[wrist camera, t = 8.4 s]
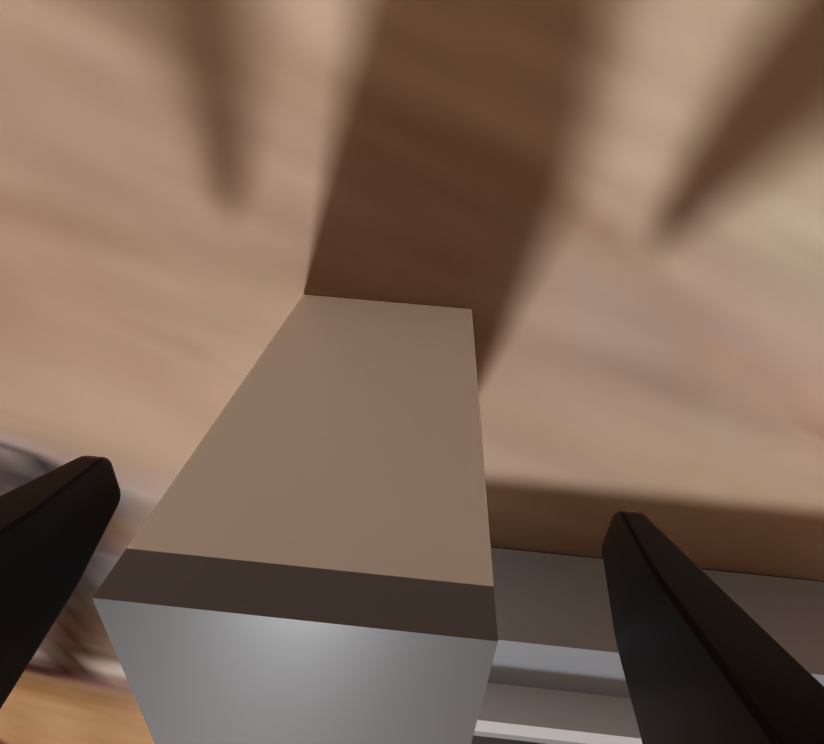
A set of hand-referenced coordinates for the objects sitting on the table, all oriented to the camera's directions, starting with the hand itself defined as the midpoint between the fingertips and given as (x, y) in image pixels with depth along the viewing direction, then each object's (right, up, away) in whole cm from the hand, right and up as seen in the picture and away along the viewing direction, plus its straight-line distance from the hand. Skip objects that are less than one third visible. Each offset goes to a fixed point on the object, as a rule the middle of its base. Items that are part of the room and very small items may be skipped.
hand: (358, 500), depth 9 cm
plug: (0, +2, +4) cm, 5 cm away
